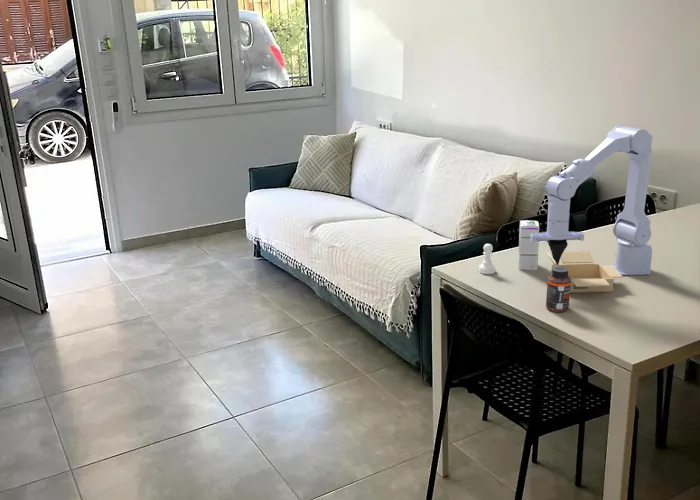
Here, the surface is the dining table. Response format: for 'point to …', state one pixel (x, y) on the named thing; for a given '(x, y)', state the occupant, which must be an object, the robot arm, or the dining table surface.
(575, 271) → the carton
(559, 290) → the supplement bottle
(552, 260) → the flap long
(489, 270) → the chess pawn
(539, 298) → the dining table surface
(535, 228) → the syrup box
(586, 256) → the flap short
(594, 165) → the robot arm
